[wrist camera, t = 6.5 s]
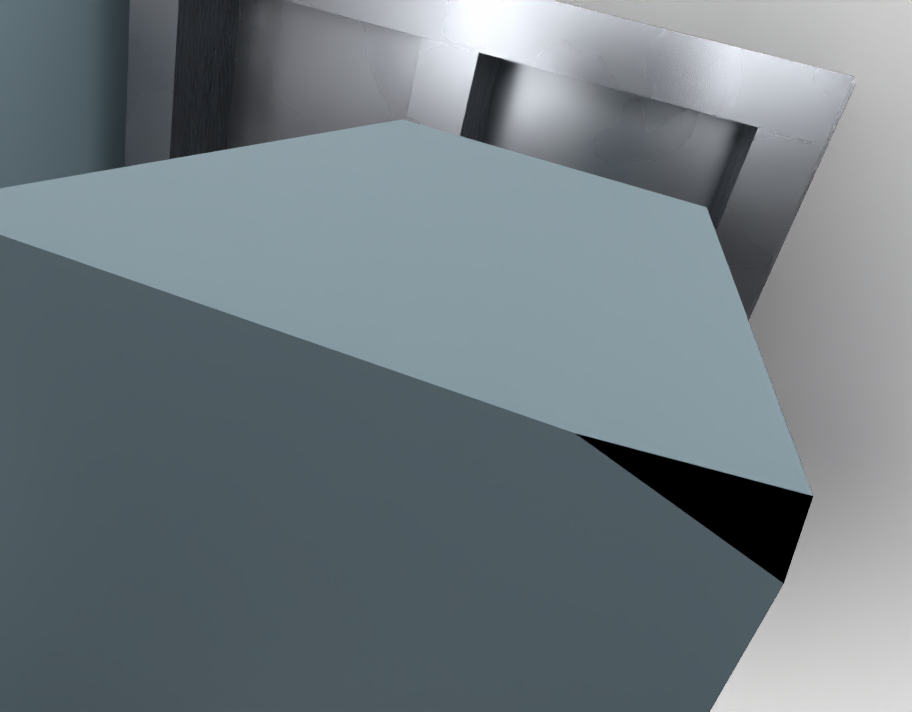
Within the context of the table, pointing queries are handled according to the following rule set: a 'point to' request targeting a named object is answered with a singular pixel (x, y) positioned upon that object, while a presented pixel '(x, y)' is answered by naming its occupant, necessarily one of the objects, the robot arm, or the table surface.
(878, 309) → the table surface
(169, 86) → the rack
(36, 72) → the fitted panel
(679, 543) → the panel
